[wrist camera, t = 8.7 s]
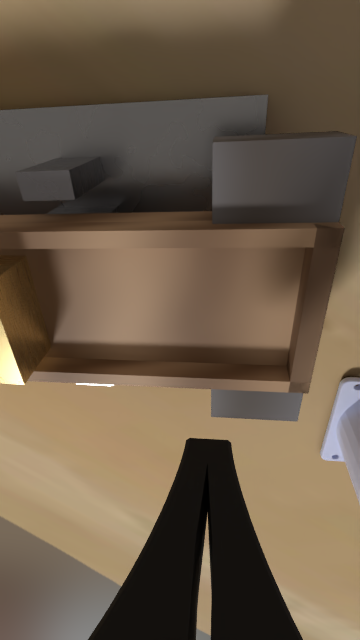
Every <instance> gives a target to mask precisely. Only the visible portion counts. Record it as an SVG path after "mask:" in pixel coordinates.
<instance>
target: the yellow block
mask: <svg viewBox="0 0 360 640" xmlns="http://www.w3.org/2000/svg"><path fill="white" fill-rule="evenodd" d="M51 347H52V346H51V343H50V339H49V336H48V332H47V328H46V325H45V321H44V318H43V314H42V311H41V307H40V303H39V300H38V296H37V293H36V289H35V286H34V282H33V278H32V275H31V271H30V268H29V264H28V261H27V257H26V256H16V255H0V383H5V384H20V385H25V383H26V382H27V380H28V379H29V378H30V376H31V375H32V373H33V372H34V371H35V369H36V368H37V366H38V365H39V364H40V362H41V361H42V359H43V358H44V357H45V355H46V354H47V352H48V351H49V349H50V348H51Z"/></svg>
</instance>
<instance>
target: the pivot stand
mask: <svg viewBox="0 0 360 640" xmlns="http://www.w3.org/2000/svg"><path fill="white" fill-rule="evenodd" d="M267 103H268V95H253V96H236V97H219V98H202V99H185V100H167V101H150V102H133V103H116V104H98V105H81V106H64V107H47V108H30V109H12V110H0V215H29V214H84V213H138V212H193V211H212V158H213V139H214V137H220V136H242V135H265V128H266V116H267ZM76 384H77V385H102V386H114V385H106V384H84V383H76Z"/></svg>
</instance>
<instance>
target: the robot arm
mask: <svg viewBox="0 0 360 640" xmlns="http://www.w3.org/2000/svg"><path fill="white" fill-rule="evenodd" d="M357 384H360V378H358V377H347V378H344V379H343V380H341V382H340V384H339V388H338V391H337V395H336V398H335V402H334V405H333V409H332V412H331V416H330V419H329V423H328V426H327V430H326V433H325V437H324V440H323V444H322V448H321V451H320V454H321V458H322V459H324V460H329V461H345V463H346V466H347V469H348V472H349V475H350V478H351V481H352V484H353V486H354V489H355V492H356V495H357V498H358V501H359V504H360V385H358V386H355V385H357ZM207 512H208V529H209V549H210V569H211V589H212V610H211V640H303V639H302V637H301V635H300V633H299V631H298V629H297V627H296V625H295V623H294V621H293V619H292V616H291V614H290V612H289V610H288V608H287V606H286V604H285V601H284V599H283V597H282V595H281V593H280V591H279V588H278V586H277V584H276V582H275V579H274V577H273V575H272V572H271V570H270V568H269V565H268V563H267V561H266V558H265V556H264V553H263V551H262V548H261V546H260V543H259V540H258V538H257V535H256V533H255V530H254V527H253V524H252V522H251V519H250V516H249V513H248V510H247V507H246V504H245V501H244V498H243V495H242V491H241V488H240V485H239V481H238V477H237V473H236V469H235V465H234V460H233V454H232V447H231V442H229V441H228V440H214V439H197V438H189V439H188V440H186V444H185V449H184V452H183V456H182V459H181V463H180V466H179V469H178V471H177V474H176V477H175V480H174V482H173V485H172V487H171V490H170V492H169V494H168V497H167V499H166V502H165V504H164V506H163V509H162V511H161V513H160V515H159V517H158V519H157V521H156V523H155V525H154V527H153V530H152V532H151V534H150V536H149V538H148V540H147V542H146V544H145V546H144V548H143V549H142V551H141V553H140V555H139V557H138V559H137V561H136V562H135V564H134V566H133V568H132V570H131V571H130V573H129V575H128V577H127V578H126V580H125V582H124V583H123V585H122V587H121V588H120V590H119V592H118V593H117V595H116V597H115V598H114V600H113V602H112V603H111V605H110V607H109V608H108V610H107V611H106V613H105V615H104V616H103V618H102V619H101V621H100V622H99V624H98V625H97V627H96V628H95V630H94V631H93V633H92V634H91V636H90V637H89V639H88V640H196V623H197V604H198V592H199V583H200V574H201V565H202V556H203V547H204V539H205V530H206V521H207Z"/></svg>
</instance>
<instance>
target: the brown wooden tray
mask: <svg viewBox="0 0 360 640" xmlns="http://www.w3.org/2000/svg"><path fill="white" fill-rule="evenodd" d="M356 138H357V136H354V135H350V134H346V133H342V132H338V131H332V132H310V133H287V134H265V135H242V136H220V137H214V139H213V158H212V211H193V212H138V213H84V214H29V215H0V255H16V256H26V257H27V261H28V264H29V268H30V271H31V275H32V278H33V282H34V286H35V289H36V293H37V296H38V300H39V303H40V307H41V311H42V314H43V318H44V321H45V325H46V328H47V332H48V336H49V339H50V343H51V346H52V347H51V348H50V349H49V351H48V352H47V354H46V355H45V357H44V358H43V359H42V361H41V362H40V364H39V365H38V366H37V368H36V369H35V371H34V372H33V373H32V375H31V376H30V378H29V379H28V380H27V381H39V382H62V383H84V384H106V385H129V386H151V387H174V388H196V389H211V417H225V418H244V419H262V420H281V421H298V416H299V411H300V406H301V401H302V397H303V393H308V392H309V388H310V383H311V379H312V374H313V369H314V365H315V360H316V356H317V351H318V347H319V342H320V338H321V333H322V329H323V324H324V319H325V315H326V310H327V306H328V301H329V297H330V292H331V288H332V283H333V279H334V274H335V269H336V265H337V260H338V256H339V251H340V247H341V242H342V238H343V233H344V229H345V228H344V227H343V226H342V225H341V224H340V223H339V219H340V215H341V210H342V205H343V200H344V195H345V191H346V186H347V181H348V176H349V172H350V167H351V162H352V157H353V152H354V148H355V143H356Z"/></svg>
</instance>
